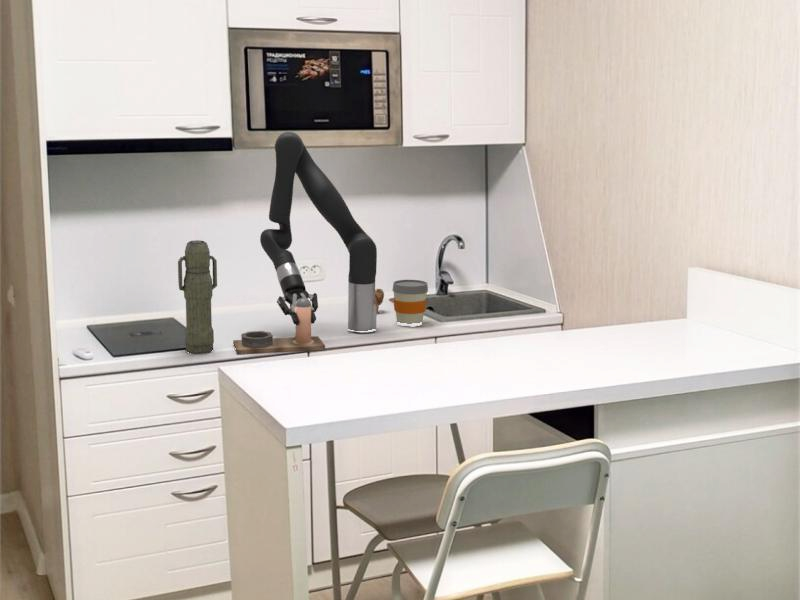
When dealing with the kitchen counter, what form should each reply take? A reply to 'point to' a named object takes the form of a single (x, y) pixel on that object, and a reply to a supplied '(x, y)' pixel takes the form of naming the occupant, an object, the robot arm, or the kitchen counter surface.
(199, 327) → the thermos
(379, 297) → the lion figurine
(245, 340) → the jig
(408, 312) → the reusable coffee cup
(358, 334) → the kitchen counter surface
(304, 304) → the round-topped orange cylinder
